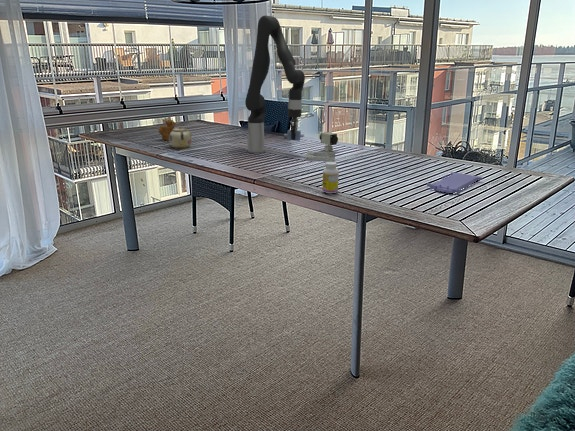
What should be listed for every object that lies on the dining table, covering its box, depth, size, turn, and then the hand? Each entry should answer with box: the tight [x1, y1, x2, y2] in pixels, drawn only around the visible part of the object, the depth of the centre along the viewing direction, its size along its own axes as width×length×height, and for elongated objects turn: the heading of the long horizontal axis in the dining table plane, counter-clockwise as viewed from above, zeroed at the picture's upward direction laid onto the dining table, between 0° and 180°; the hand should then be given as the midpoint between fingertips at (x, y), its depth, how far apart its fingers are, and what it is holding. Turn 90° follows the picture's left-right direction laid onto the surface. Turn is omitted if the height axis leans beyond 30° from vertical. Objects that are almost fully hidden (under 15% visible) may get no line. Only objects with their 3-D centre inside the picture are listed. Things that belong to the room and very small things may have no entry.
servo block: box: [283, 129, 305, 142], centre depth 262 cm, size 11×4×5 cm, turn 82°
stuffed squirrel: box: [157, 119, 178, 142], centre depth 310 cm, size 10×14×13 cm
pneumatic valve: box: [319, 130, 339, 152], centre depth 277 cm, size 6×12×12 cm, turn 36°
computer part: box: [426, 171, 483, 194], centre depth 209 cm, size 30×4×15 cm
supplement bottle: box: [321, 161, 340, 194], centre depth 197 cm, size 7×7×13 cm
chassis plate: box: [304, 150, 336, 162], centre depth 262 cm, size 16×15×2 cm
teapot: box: [169, 125, 193, 150], centre depth 286 cm, size 20×14×13 cm
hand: (293, 138), depth 263 cm, fingers closed on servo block, 4 cm apart
